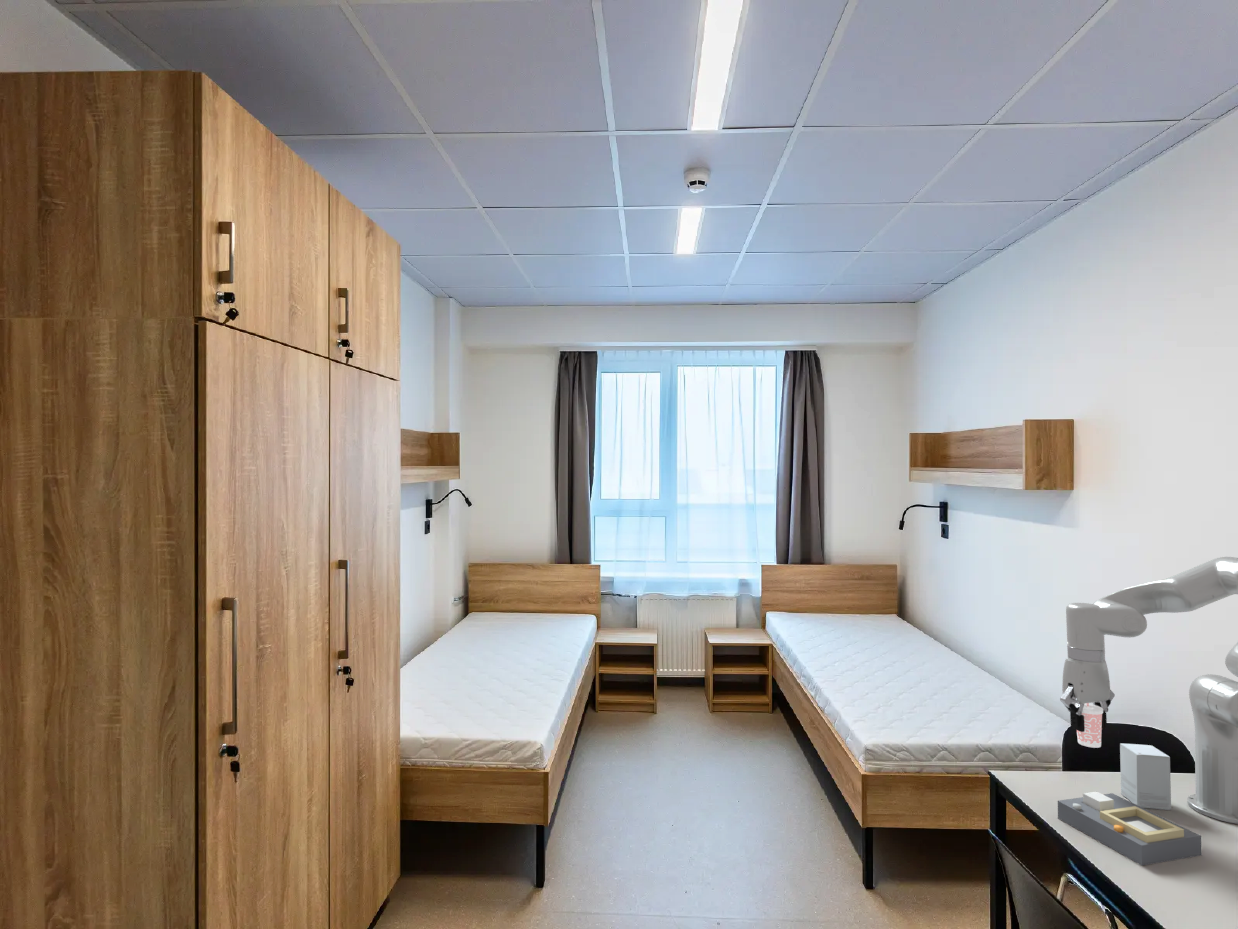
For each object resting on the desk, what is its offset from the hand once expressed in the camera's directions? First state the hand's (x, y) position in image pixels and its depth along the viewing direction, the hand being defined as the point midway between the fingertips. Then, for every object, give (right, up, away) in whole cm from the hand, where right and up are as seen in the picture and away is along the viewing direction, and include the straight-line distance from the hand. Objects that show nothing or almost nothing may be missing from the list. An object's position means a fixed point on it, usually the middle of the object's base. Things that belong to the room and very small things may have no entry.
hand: (1088, 727), depth 159 cm
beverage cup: (0, -4, 0) cm, 4 cm away
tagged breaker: (-4, -17, -21) cm, 27 cm away
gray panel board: (-4, -17, -16) cm, 23 cm away
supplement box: (+13, -18, -1) cm, 22 cm away
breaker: (-6, -15, -11) cm, 20 cm away
